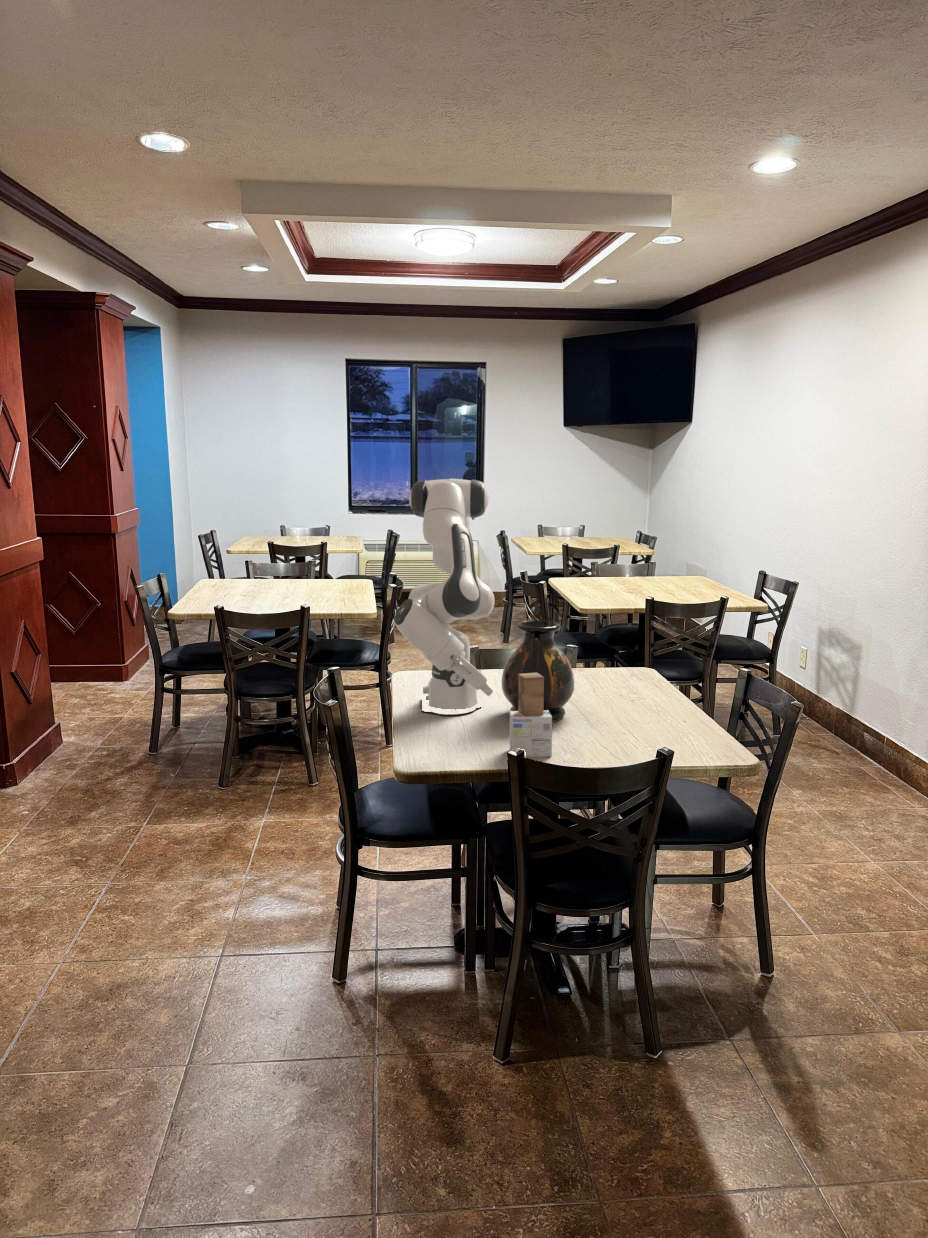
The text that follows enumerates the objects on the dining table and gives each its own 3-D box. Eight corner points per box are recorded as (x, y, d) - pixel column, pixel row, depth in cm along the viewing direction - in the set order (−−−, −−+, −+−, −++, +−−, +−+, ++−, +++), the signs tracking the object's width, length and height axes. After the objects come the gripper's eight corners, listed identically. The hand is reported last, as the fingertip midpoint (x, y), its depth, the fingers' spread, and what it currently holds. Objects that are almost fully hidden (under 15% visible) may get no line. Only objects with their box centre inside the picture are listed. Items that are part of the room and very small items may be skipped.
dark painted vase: (570, 728, 239) (572, 631, 234) (495, 724, 243) (496, 629, 238) (576, 708, 260) (578, 618, 255) (507, 704, 264) (507, 616, 259)
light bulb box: (548, 748, 222) (549, 709, 220) (552, 757, 216) (553, 716, 214) (508, 749, 222) (508, 709, 220) (510, 758, 215) (511, 717, 213)
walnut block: (518, 711, 219) (518, 673, 217) (536, 709, 220) (536, 672, 218) (524, 716, 214) (525, 678, 212) (543, 715, 215) (543, 677, 214)
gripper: (467, 651, 199) (506, 689, 203) (445, 636, 218) (481, 670, 222) (448, 671, 198) (488, 708, 203) (428, 654, 218) (465, 688, 222)
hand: (484, 688), depth 213 cm, fingers open, 8 cm apart
